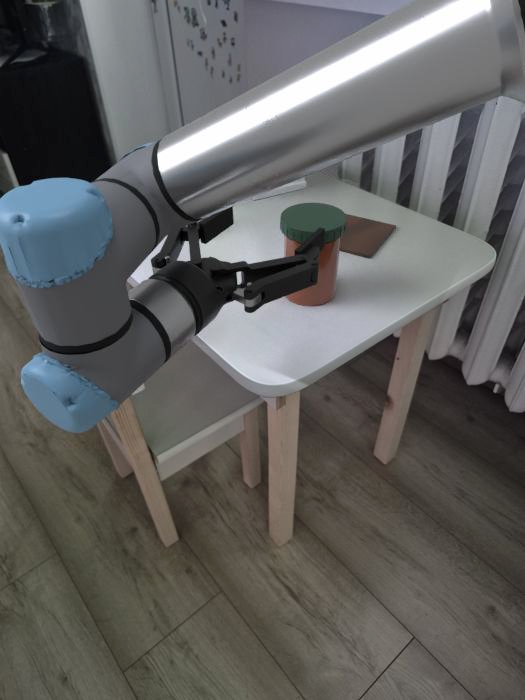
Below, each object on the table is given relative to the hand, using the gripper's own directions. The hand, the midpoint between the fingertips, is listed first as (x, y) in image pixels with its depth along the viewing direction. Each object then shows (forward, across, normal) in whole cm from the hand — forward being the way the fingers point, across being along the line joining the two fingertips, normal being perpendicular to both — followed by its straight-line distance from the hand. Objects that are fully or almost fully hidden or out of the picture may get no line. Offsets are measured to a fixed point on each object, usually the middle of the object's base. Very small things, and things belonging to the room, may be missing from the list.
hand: (274, 225), depth 62 cm
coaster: (+34, -2, -17) cm, 38 cm away
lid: (+12, 0, -4) cm, 12 cm away
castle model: (+48, -30, -17) cm, 59 cm away
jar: (+12, 0, -17) cm, 21 cm away
